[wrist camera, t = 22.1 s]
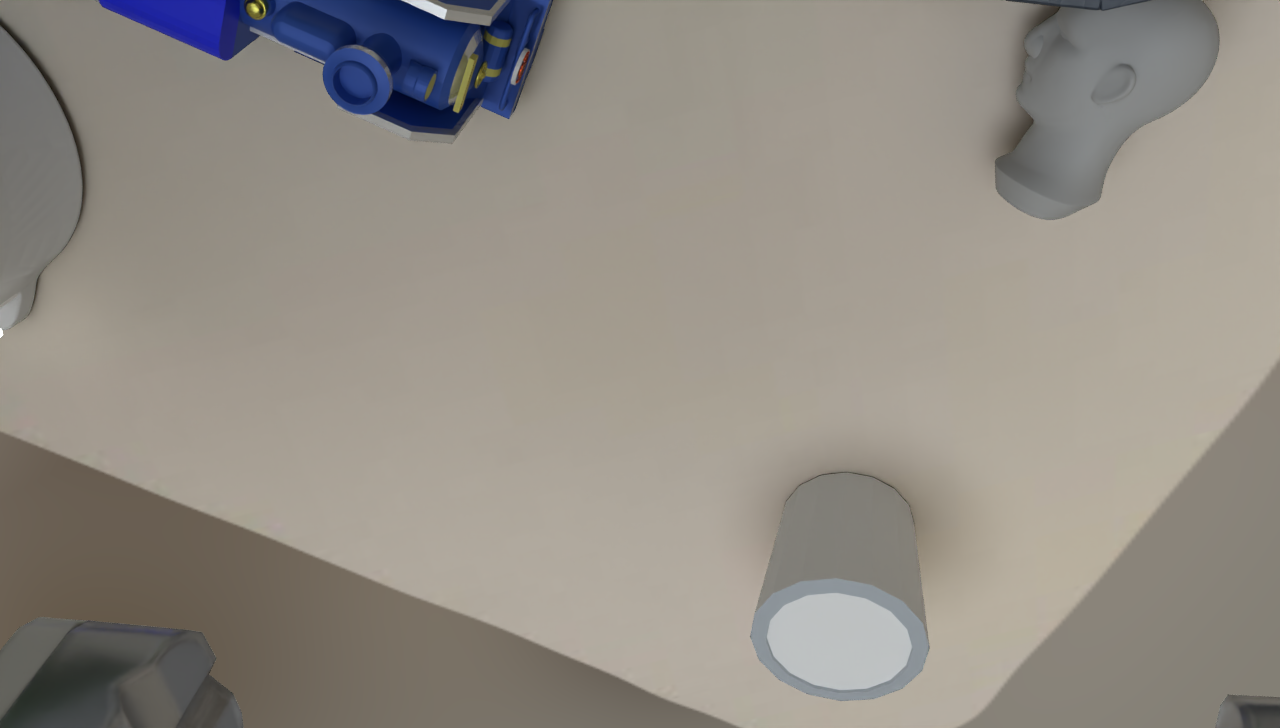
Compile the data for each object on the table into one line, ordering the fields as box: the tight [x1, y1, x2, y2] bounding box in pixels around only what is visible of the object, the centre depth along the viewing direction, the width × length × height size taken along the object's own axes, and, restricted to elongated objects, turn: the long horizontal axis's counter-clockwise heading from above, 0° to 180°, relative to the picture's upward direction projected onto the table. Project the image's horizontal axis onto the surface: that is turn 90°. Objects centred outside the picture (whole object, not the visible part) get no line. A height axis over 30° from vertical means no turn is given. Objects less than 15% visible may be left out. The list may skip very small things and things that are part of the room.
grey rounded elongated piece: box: [995, 0, 1219, 220], centre depth 38 cm, size 4×8×5 cm
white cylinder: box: [750, 472, 929, 701], centre depth 49 cm, size 7×7×7 cm
